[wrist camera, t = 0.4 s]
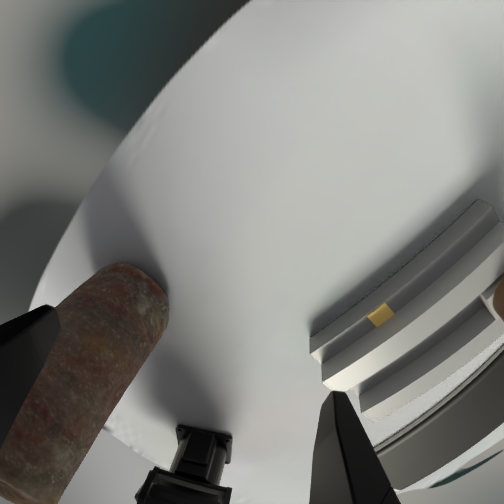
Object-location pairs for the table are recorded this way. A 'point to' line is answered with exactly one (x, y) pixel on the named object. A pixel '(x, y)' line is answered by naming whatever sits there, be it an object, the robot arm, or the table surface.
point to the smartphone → (447, 427)
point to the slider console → (418, 319)
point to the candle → (81, 380)
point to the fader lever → (494, 298)
